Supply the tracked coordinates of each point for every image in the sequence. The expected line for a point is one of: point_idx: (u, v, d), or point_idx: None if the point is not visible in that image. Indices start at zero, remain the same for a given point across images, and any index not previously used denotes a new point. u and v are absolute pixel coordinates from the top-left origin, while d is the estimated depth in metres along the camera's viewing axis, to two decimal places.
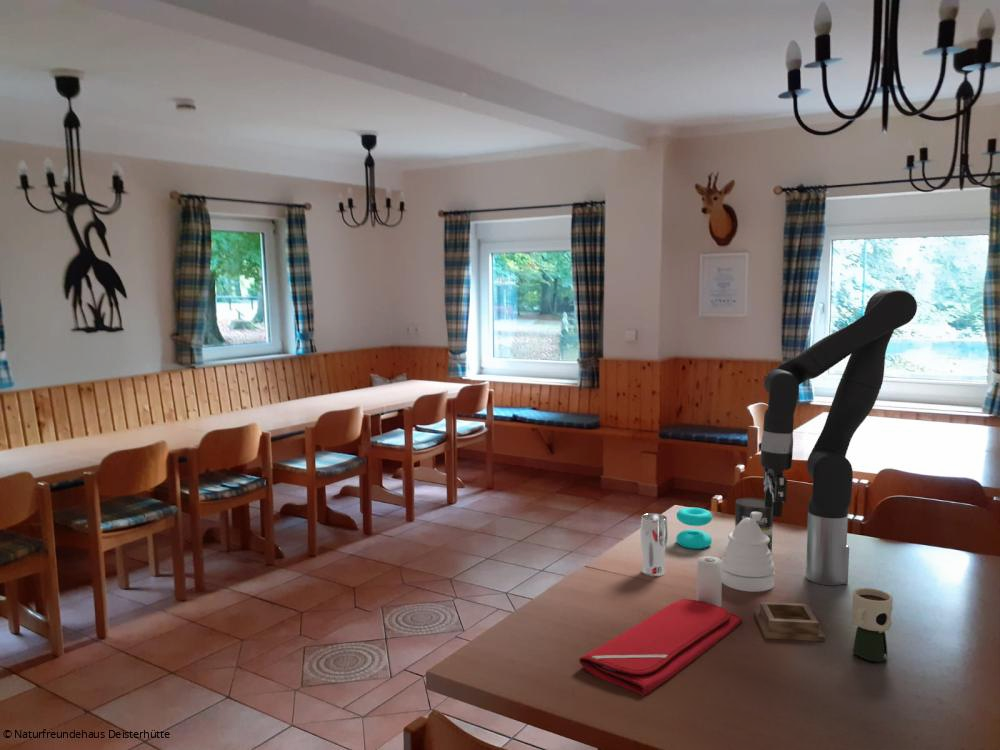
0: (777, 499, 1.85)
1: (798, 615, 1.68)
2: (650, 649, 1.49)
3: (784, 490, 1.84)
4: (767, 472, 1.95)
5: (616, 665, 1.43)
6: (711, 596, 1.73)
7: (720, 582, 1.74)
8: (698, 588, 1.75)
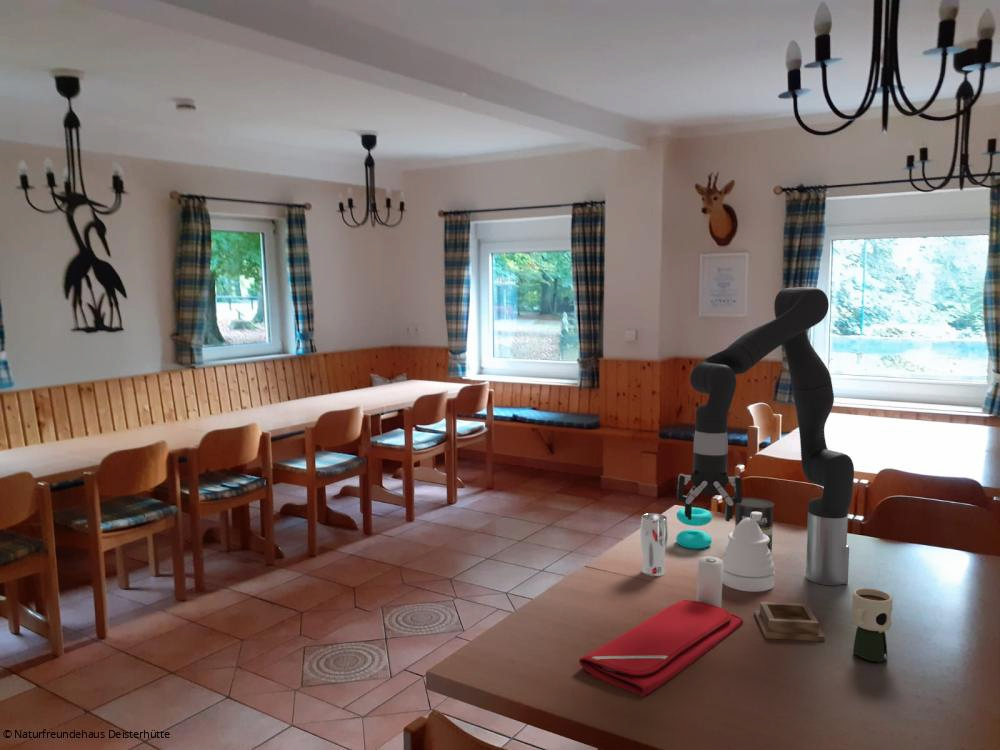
0: None
1: (798, 615, 1.68)
2: (650, 650, 1.49)
3: None
4: (694, 480, 1.72)
5: (616, 666, 1.43)
6: (712, 597, 1.73)
7: (721, 583, 1.74)
8: (699, 588, 1.75)
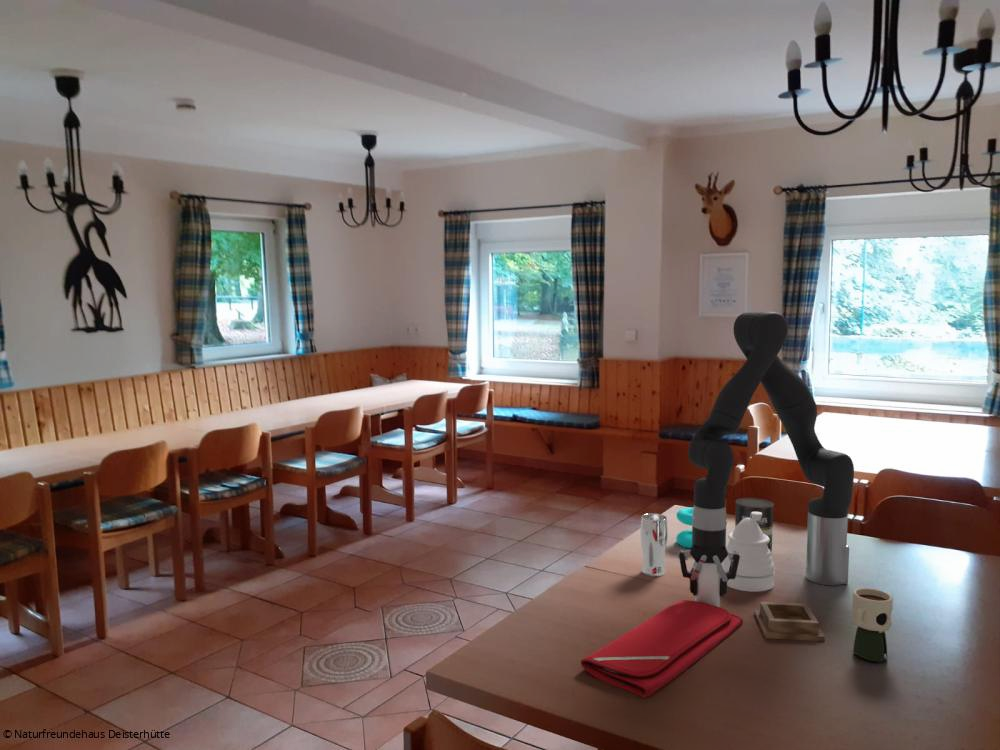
0: None
1: (798, 615, 1.68)
2: (652, 650, 1.48)
3: None
4: (694, 555, 1.74)
5: (618, 667, 1.42)
6: (711, 597, 1.73)
7: (719, 582, 1.74)
8: (697, 589, 1.75)
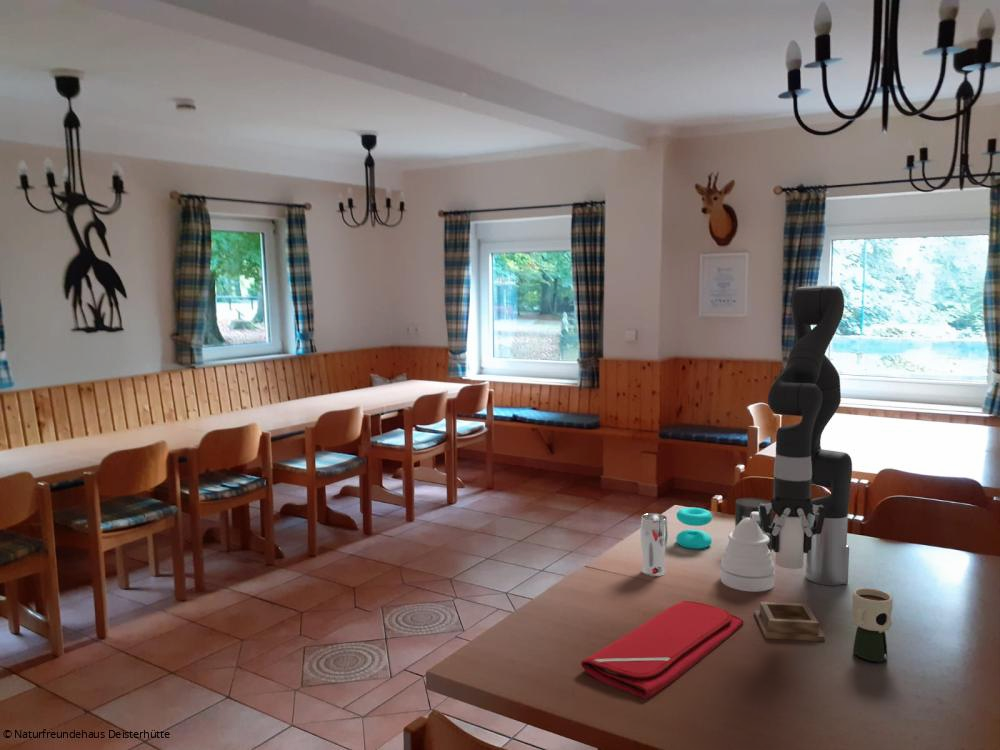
0: None
1: (798, 615, 1.68)
2: (652, 652, 1.48)
3: None
4: (776, 508, 1.61)
5: (619, 668, 1.42)
6: (794, 553, 1.61)
7: (803, 538, 1.62)
8: (779, 545, 1.63)
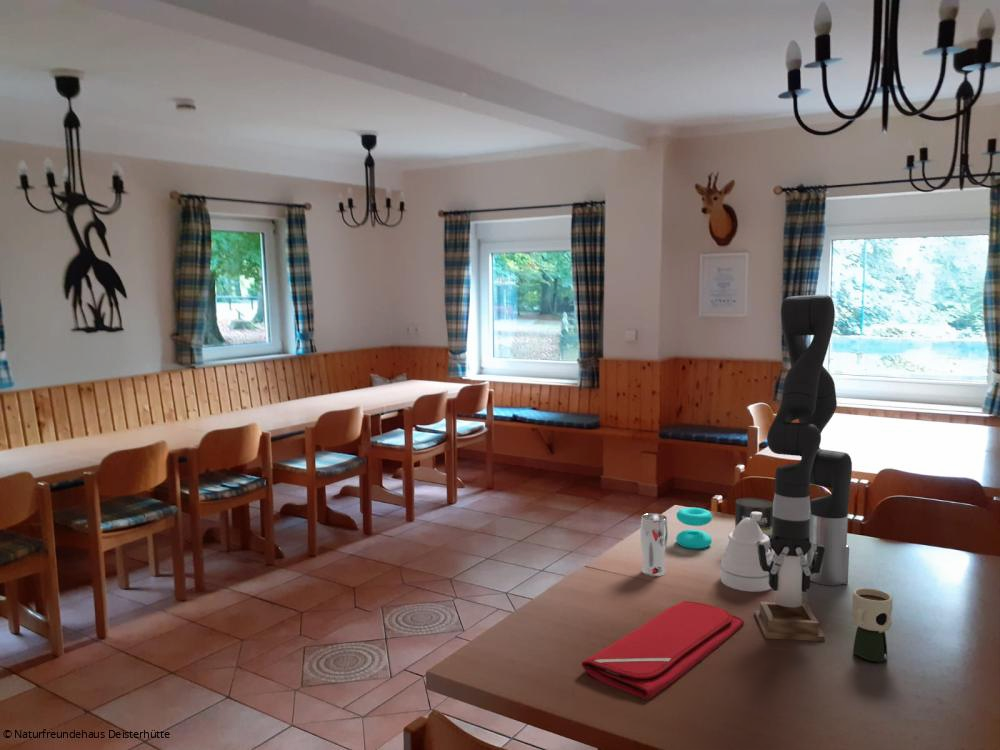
0: None
1: (798, 615, 1.68)
2: (653, 652, 1.48)
3: None
4: (774, 547, 1.62)
5: (619, 669, 1.41)
6: (793, 592, 1.62)
7: (801, 577, 1.62)
8: (777, 583, 1.63)
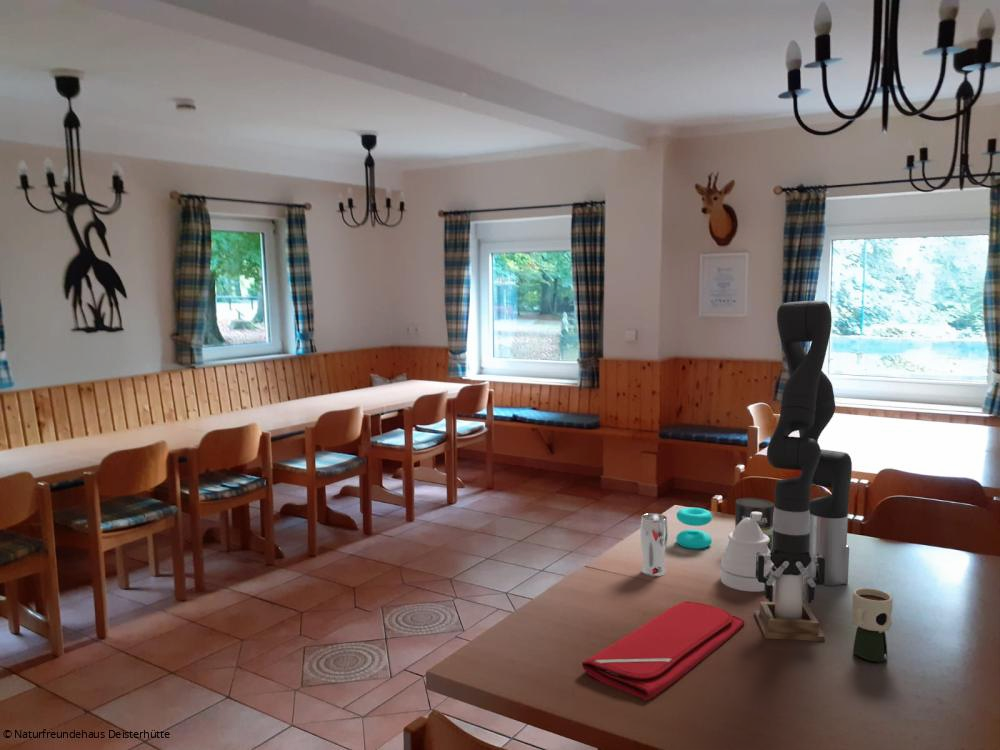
0: None
1: None
2: (654, 653, 1.48)
3: None
4: (774, 560, 1.63)
5: (620, 669, 1.41)
6: (793, 611, 1.62)
7: (801, 596, 1.63)
8: (777, 602, 1.64)
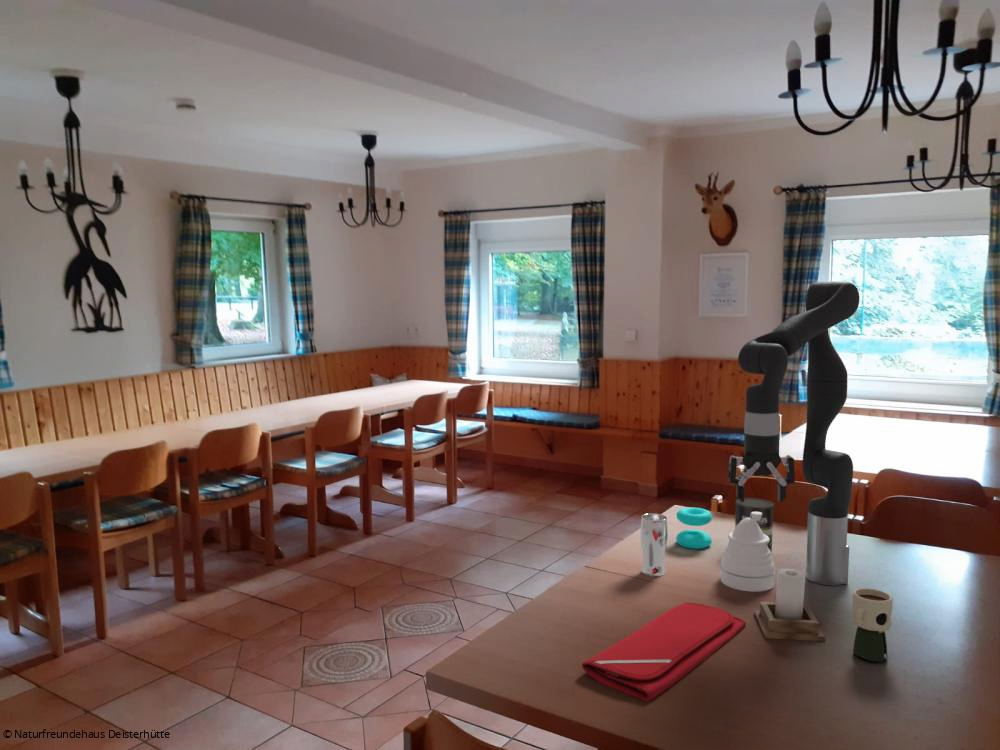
0: None
1: None
2: (654, 654, 1.47)
3: None
4: (746, 462, 1.70)
5: (620, 670, 1.41)
6: (794, 612, 1.62)
7: (803, 597, 1.63)
8: (779, 603, 1.64)
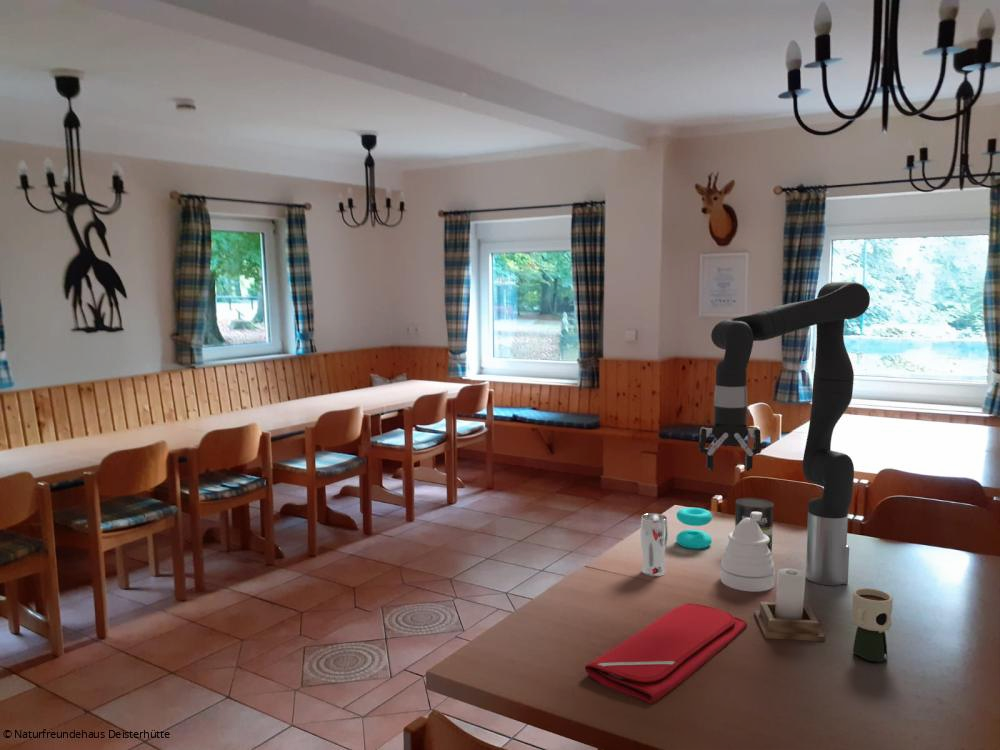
0: None
1: None
2: (657, 655, 1.47)
3: None
4: (715, 433, 1.81)
5: (623, 672, 1.40)
6: (795, 612, 1.62)
7: (803, 596, 1.63)
8: (779, 603, 1.64)
